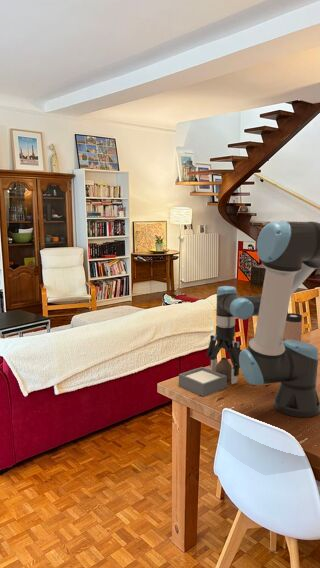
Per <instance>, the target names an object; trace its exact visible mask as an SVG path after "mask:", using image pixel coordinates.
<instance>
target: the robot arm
mask: <svg viewBox="0 0 320 568" xmlns="http://www.w3.org/2000/svg"><path fill="white" fill-rule="evenodd" d="M256 250H257V251H256V254H257V256H258V258H259V260H260V261H261V265H262V267H263V268H265V273H264V279H263V285H262V290H261V291H262V292H261V295H243V296H240V295H237V294H238V293H237V292H238V291H237V288H236V287H235V286H231V285H230V286H229V285H222V286H218V287H217V290H216V291H217V292H216V311H215V312H216V316H215V317H216V318H215V325H216V326H215V334H211V335H210V337H209V338H210V339H209V345H208V347H207V351H206V355H205V356H206V357H207V358H209V366H210V370H212V371H215V369H216V366H217V364H218V359H217V356H218V354H219V353H220V351H221V349H224V350H225V351H226V352H227V354H228V356H229V358H230V361H231V365H232V375H231V378H230V379H231V380H230V384H231V385H234V384H237V383H238V376H239V375H240V373H239V372H240V371H241V375H242V376H243V378H244V380H245V381H246V382H247V383H248V384H249V385H253V386H255V385H256V386H257V385H259V386H260V385H261V386H263V385H267V384H274V383H275V384H276V383H280V384H279V386H278V388H277V390H276V394H275V396H274V399H273V407H274V408H275V409H276V410H277V411H279V412H281V413H282V414H284V415H287V416H291V417H295V418H296V417H297V418H311V417H315V416H317V415H319V413H320V399H319V396H318V392H317V379H318V378H317V377H318V366H319V350H318V347H317V346H315V345H314V344H312V343H308V342H306V341H302V340H301V341H298V340H284V327H285V322H286V317H287V314H288V311H289V306H290V301H291V296H292V295H293V294H294V293H295V292H296V291H297V289H299V288H300V286H301V285H302V284H303V283H304V282H305V281H306V279H308V277H309V276H311V274H312V273H313V272H314V271H315V270H318V269H320V222H317V221H287V220H280V221H273V222H272V221H271V222H269V223H267V224H266V225H264V226H263V228H262V229H261V230H260V232H259V234H258V237H257V241H256ZM251 317H257V319H256V320H257V321H256V327H255V333H254V337H253V338H250V339H249V341H248V345H247V346H248V347H247V348H244V349H241V341H236V340H235V337H234V336H236V326H235V325H236V318H237V319H239V320H247V319H249V318H251Z"/></svg>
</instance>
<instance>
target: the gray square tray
mask: <svg viewBox="0 0 320 568" xmlns="http://www.w3.org/2000/svg"><path fill="white" fill-rule="evenodd" d="M178 386H179V387H180V388H183V389H184V390H187V391H190V392H192V393H194V394H196V395H198V396H200V395H201V396H200V397H202V396H204V397H206V396H209V395H211V394H214V393H216V392H217V393H218V392H219V391H222V390H224V389H227V388H228V387H227V386H228V381H227V376H226V375H223V374H220V373H218V372H215V371H212V370H211V368H207V367H204V366H201V367H198V368H194V369H190V370H188V371H184V372H182V373H179V374H178Z"/></svg>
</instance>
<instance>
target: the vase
mask: <svg viewBox="0 0 320 568" xmlns="http://www.w3.org/2000/svg"><path fill="white" fill-rule="evenodd" d="M232 367H233V364H232V363H230V361H229V360H228V358H227V357H221V358H220V360H219V362H217V366H216V369H215V372H218V373H220V374H223V375H226V376H227V382H228V381H229V380H230V379H231V375H232Z"/></svg>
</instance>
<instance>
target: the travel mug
mask: <svg viewBox="0 0 320 568" xmlns="http://www.w3.org/2000/svg"><path fill="white" fill-rule="evenodd" d="M302 321H303V316H302V314H300V313H290V312H289V313H288V312H287V317H286V322H285V327H284V333H283V341H284V340H298V341H302V325H303V324H302V323H303V322H302Z"/></svg>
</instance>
